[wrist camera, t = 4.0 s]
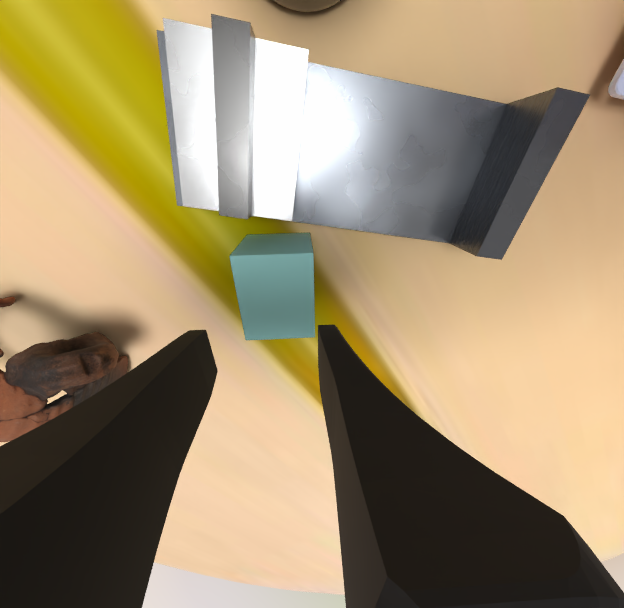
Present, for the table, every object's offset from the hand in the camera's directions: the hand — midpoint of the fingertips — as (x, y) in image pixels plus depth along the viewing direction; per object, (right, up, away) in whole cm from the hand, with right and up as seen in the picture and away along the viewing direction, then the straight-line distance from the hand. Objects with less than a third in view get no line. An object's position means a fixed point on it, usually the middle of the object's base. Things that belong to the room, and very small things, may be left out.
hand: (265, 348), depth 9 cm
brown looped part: (-15, -2, +11) cm, 19 cm away
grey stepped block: (-1, +10, +3) cm, 10 cm away
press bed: (+4, +10, +4) cm, 11 cm away
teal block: (0, +4, +7) cm, 9 cm away
